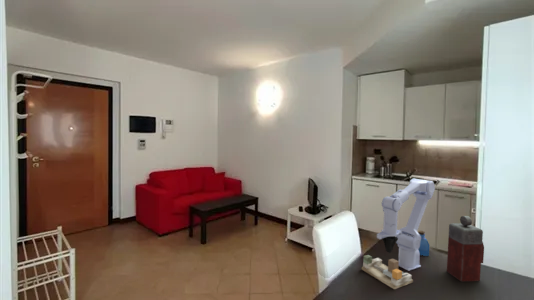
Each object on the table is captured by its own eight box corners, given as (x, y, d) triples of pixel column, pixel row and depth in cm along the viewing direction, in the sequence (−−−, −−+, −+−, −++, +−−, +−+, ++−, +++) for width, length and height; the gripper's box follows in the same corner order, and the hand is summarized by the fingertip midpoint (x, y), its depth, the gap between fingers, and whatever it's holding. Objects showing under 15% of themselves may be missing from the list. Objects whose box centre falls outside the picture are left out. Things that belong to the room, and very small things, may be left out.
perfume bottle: (428, 256, 142) (429, 234, 141) (416, 254, 143) (417, 233, 142) (424, 251, 148) (425, 230, 147) (412, 250, 149) (413, 229, 148)
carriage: (393, 269, 122) (393, 256, 122) (403, 274, 118) (403, 261, 117) (382, 273, 119) (383, 259, 119) (392, 278, 114) (393, 264, 114)
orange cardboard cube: (396, 275, 115) (396, 268, 115) (401, 278, 113) (401, 271, 112) (391, 276, 113) (392, 270, 113) (396, 279, 111) (397, 272, 111)
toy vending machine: (485, 280, 118) (489, 219, 116) (461, 281, 117) (464, 219, 115) (468, 270, 127) (472, 213, 125) (446, 271, 126) (449, 213, 124)
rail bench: (379, 264, 132) (379, 251, 132) (412, 282, 116) (413, 268, 116) (361, 269, 127) (361, 256, 127) (394, 289, 111) (394, 274, 110)
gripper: (393, 218, 129) (391, 245, 130) (372, 222, 122) (370, 250, 123) (406, 223, 123) (405, 251, 123) (384, 227, 116) (383, 257, 117)
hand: (388, 251), depth 123 cm, fingers closed
